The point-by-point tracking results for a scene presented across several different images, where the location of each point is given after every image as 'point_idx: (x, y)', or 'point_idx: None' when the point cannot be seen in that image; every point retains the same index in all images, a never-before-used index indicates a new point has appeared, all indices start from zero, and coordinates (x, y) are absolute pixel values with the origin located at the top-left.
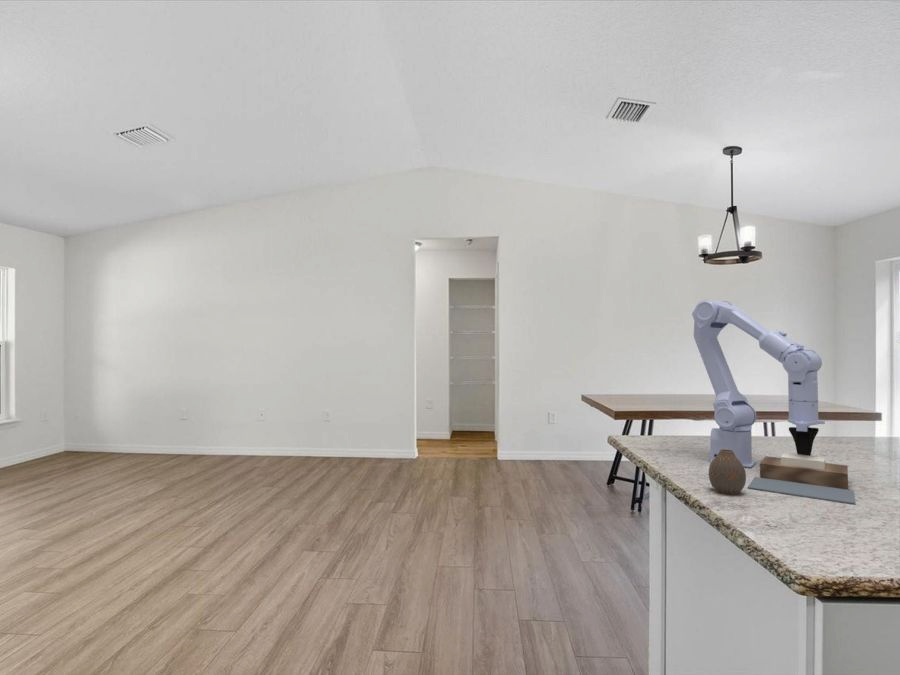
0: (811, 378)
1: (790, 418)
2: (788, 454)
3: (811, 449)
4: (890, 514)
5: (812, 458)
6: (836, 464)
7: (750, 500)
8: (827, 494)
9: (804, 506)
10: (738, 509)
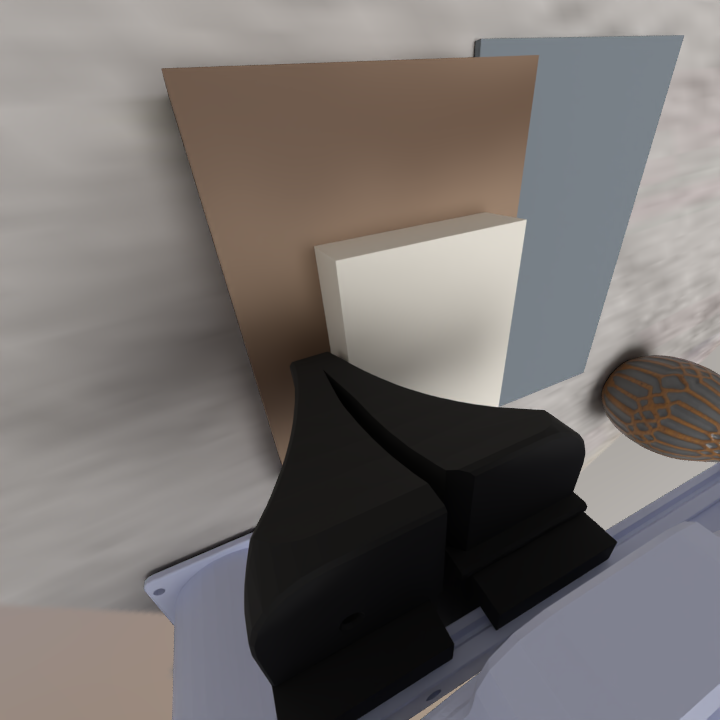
0: None
1: None
2: None
3: (368, 374)
4: None
5: (453, 308)
6: (206, 177)
7: (672, 316)
8: (594, 158)
9: (704, 198)
10: None
